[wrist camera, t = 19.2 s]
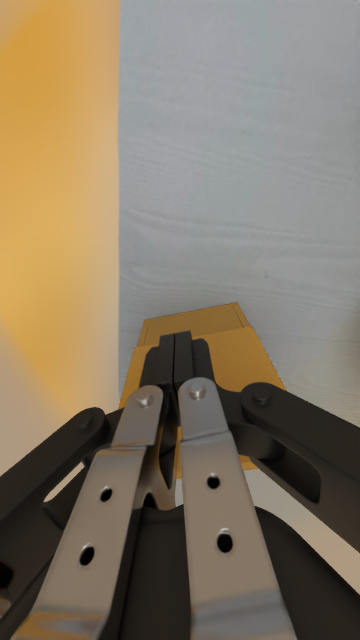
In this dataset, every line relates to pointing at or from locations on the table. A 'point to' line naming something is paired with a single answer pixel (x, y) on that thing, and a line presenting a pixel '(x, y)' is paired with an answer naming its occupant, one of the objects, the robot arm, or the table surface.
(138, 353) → the lid
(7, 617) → the robot arm
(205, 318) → the chest
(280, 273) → the table surface
